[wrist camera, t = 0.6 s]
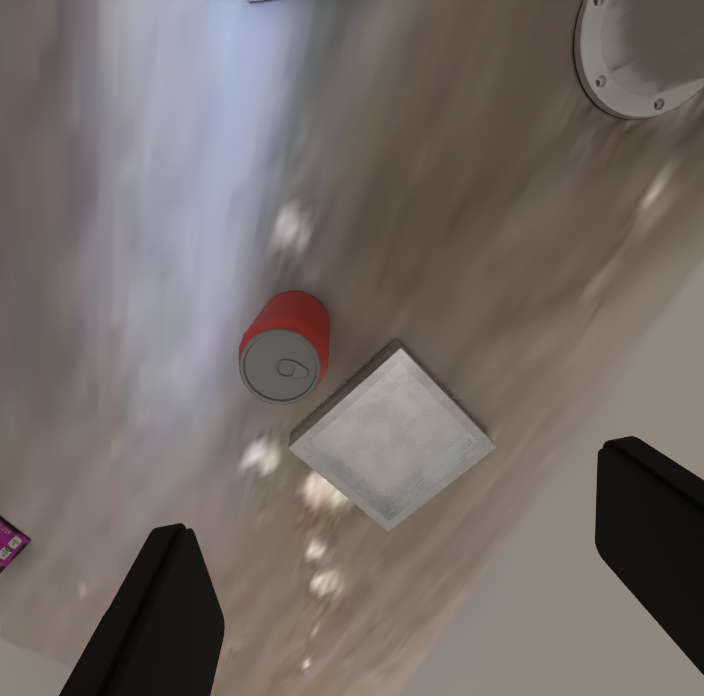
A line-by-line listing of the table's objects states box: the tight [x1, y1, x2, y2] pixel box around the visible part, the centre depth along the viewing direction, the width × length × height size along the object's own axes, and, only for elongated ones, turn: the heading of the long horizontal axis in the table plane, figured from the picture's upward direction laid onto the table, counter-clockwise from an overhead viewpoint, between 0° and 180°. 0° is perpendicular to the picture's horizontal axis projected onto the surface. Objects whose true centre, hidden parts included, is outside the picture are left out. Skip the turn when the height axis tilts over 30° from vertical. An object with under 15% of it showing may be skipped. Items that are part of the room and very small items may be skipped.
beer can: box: [239, 291, 329, 405], centre depth 32 cm, size 7×7×12 cm
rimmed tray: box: [288, 339, 496, 531], centre depth 41 cm, size 15×15×3 cm
